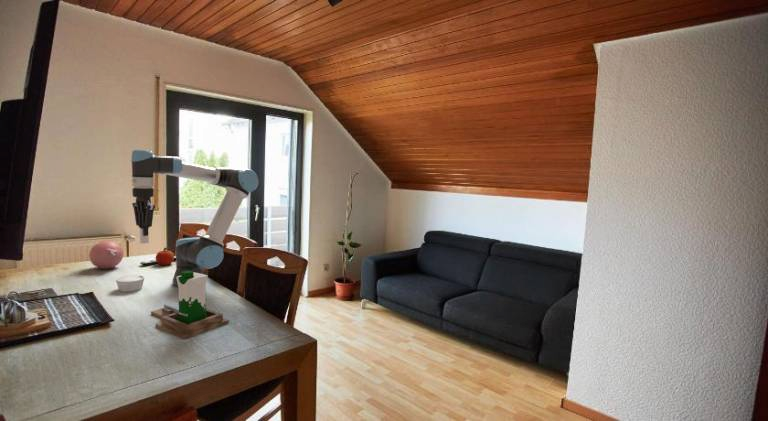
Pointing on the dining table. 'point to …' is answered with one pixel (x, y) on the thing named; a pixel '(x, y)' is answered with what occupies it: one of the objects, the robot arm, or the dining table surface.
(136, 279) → the ramekin
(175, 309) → the lock bar
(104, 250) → the pink ovoid shape
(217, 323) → the brown wooden tray
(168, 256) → the fruit
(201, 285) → the soya milk
